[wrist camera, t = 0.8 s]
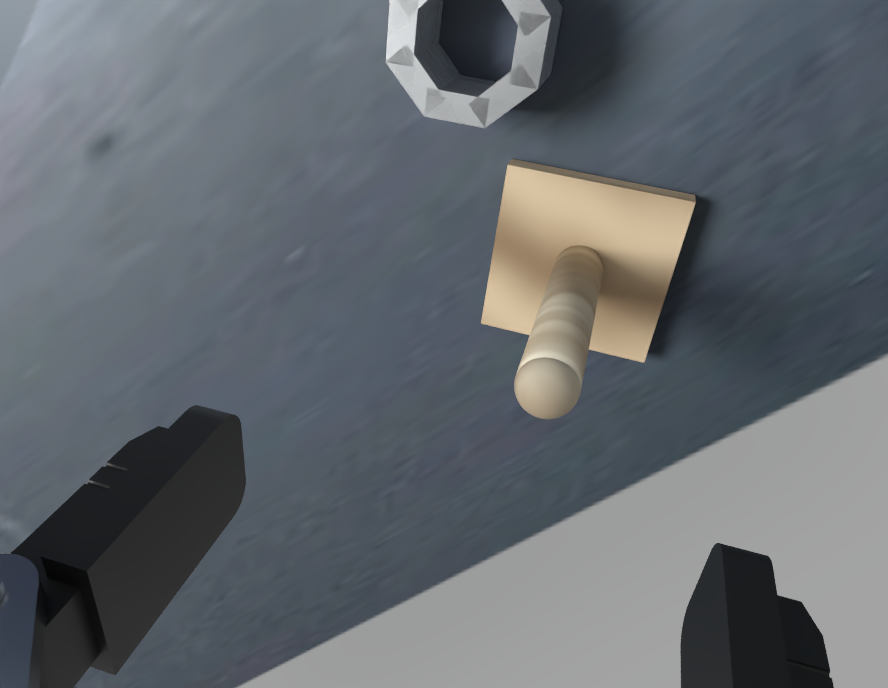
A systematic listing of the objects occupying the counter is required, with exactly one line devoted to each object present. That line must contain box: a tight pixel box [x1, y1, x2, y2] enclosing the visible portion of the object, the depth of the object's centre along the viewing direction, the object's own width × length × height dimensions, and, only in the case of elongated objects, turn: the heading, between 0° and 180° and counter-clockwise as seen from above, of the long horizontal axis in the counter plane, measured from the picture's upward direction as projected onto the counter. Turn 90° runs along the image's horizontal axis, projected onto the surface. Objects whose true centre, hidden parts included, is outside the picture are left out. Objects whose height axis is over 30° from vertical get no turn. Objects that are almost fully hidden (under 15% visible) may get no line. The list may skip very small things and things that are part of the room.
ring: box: [386, 0, 563, 128], centre depth 27 cm, size 6×6×4 cm
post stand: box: [481, 159, 696, 419], centre depth 27 cm, size 8×8×12 cm
